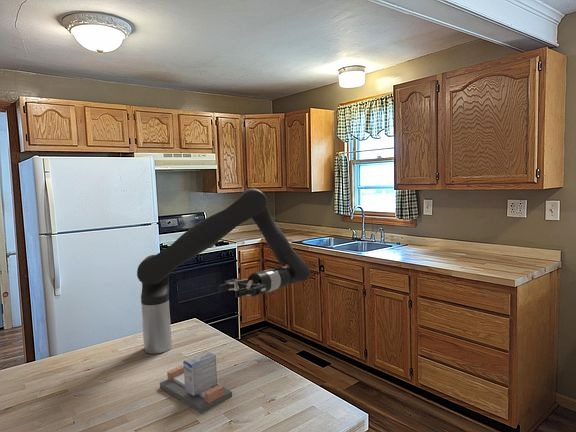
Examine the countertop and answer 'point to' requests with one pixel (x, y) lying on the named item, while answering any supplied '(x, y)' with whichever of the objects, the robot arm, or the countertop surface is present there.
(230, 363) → the countertop surface
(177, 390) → the rail panel
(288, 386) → the countertop surface
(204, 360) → the medicine box
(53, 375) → the countertop surface
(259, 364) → the countertop surface
